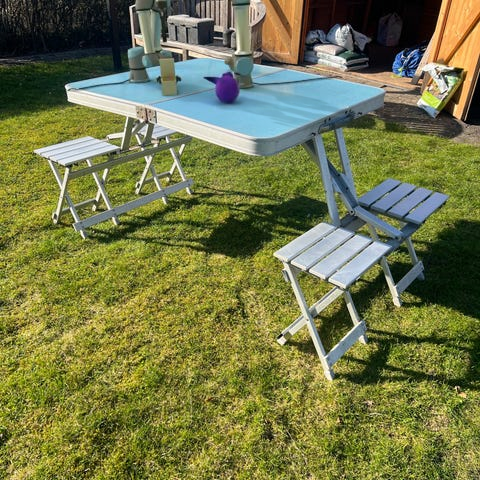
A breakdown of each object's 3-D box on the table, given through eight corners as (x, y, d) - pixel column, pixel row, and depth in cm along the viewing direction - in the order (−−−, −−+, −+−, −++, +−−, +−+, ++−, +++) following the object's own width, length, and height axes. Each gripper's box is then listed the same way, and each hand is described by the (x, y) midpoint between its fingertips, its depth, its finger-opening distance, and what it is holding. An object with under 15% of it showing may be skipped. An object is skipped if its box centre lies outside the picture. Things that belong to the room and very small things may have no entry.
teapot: (228, 72, 362) (227, 52, 355) (221, 70, 371) (220, 50, 364) (250, 69, 372) (250, 50, 364) (243, 67, 380) (243, 48, 373)
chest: (177, 94, 297) (176, 80, 293) (162, 95, 296) (161, 81, 291) (176, 90, 308) (175, 77, 304) (162, 91, 307) (161, 77, 303)
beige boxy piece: (174, 59, 292) (173, 51, 296) (159, 59, 290) (158, 51, 295) (175, 76, 303) (174, 69, 308) (161, 77, 302) (160, 69, 306)
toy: (226, 94, 295) (239, 108, 274) (200, 89, 287) (212, 104, 267) (231, 69, 287) (246, 82, 266) (206, 64, 279) (218, 77, 259)
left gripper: (184, 80, 324) (185, 87, 305) (153, 82, 321) (152, 88, 302) (183, 69, 320) (184, 75, 301) (152, 71, 318) (151, 77, 299)
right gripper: (167, 1, 266) (171, 43, 277) (167, -1, 282) (170, 39, 294) (154, 1, 265) (158, 43, 276) (155, 0, 282) (159, 40, 293)
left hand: (168, 82), depth 302 cm, fingers closed on chest, 9 cm apart
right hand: (164, 41), depth 285 cm, fingers open, 7 cm apart
